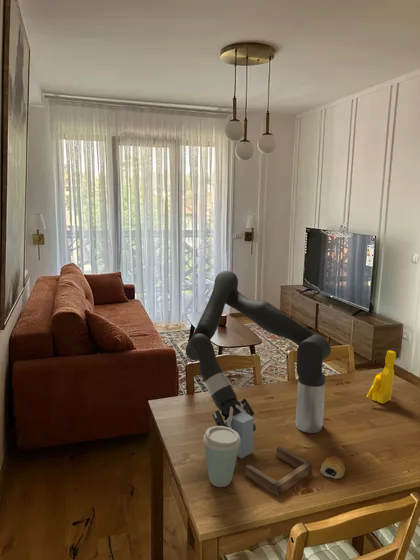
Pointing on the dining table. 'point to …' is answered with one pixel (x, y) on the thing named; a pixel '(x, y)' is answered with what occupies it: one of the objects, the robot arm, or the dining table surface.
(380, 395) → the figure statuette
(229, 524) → the dining table surface
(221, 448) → the disposable coffee cup
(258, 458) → the dining table surface
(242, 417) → the slate block
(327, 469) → the pastry
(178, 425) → the dining table surface
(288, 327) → the robot arm
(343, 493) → the dining table surface
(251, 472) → the walnut bay
